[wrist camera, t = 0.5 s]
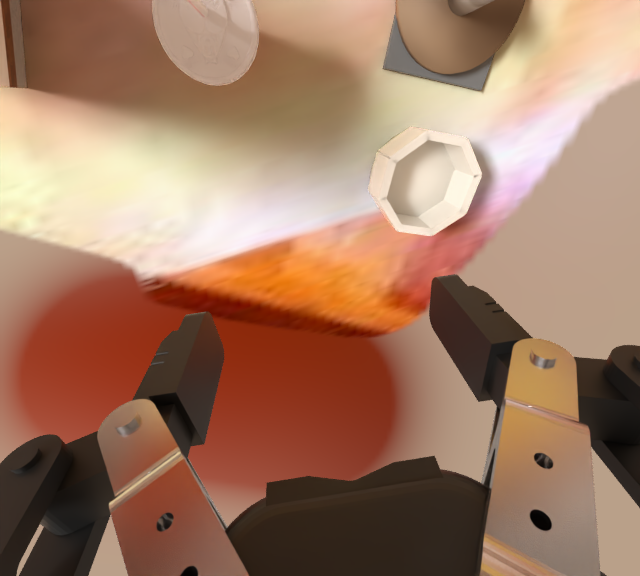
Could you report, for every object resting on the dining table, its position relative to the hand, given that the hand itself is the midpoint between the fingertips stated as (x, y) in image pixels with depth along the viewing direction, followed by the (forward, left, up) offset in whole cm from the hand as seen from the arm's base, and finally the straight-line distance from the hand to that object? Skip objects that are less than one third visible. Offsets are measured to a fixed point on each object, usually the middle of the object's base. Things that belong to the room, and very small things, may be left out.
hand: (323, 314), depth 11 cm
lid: (-17, +12, -25) cm, 33 cm away
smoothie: (-10, -7, -26) cm, 29 cm away
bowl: (-2, +13, -26) cm, 29 cm away
